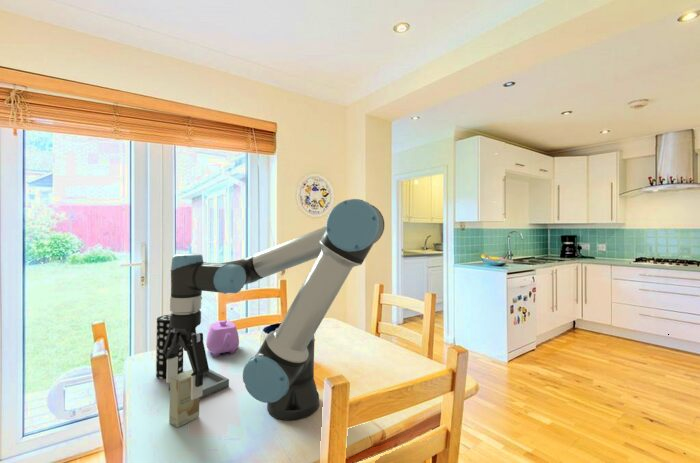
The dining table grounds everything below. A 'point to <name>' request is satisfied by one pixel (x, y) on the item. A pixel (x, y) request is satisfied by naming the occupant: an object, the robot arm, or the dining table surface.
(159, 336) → the white-spotted black cylinder
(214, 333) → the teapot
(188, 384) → the skincare box
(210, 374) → the tray
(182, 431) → the dining table surface
